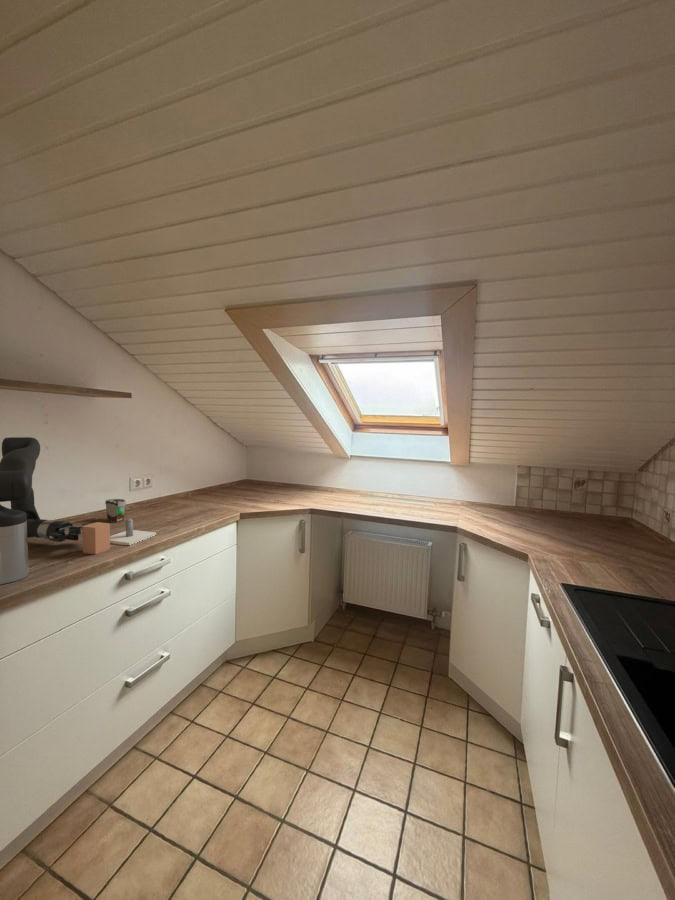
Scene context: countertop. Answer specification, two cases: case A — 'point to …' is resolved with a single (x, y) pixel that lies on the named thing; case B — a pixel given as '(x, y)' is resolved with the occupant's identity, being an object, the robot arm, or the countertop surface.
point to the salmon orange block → (96, 537)
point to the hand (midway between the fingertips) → (88, 534)
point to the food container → (115, 509)
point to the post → (130, 535)
